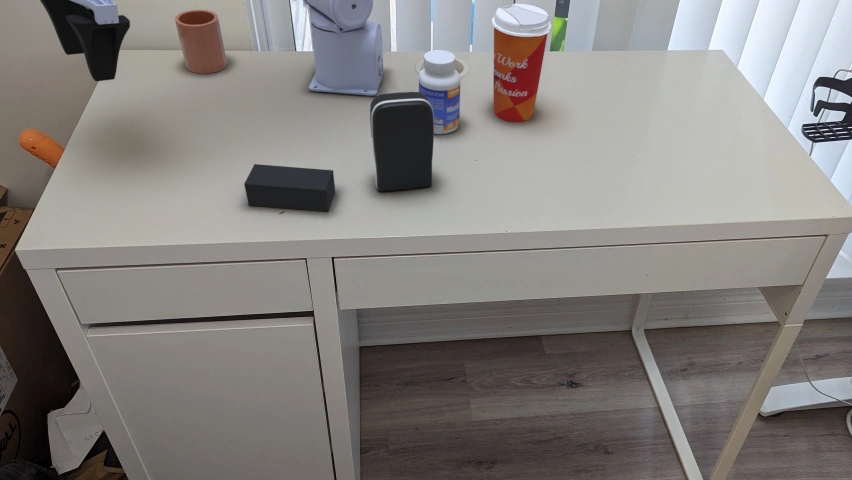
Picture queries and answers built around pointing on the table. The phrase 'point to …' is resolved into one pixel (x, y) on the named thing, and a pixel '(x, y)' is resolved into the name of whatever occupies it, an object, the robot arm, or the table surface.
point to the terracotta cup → (201, 41)
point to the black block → (290, 187)
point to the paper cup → (518, 59)
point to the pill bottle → (441, 89)
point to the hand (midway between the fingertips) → (89, 65)
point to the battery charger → (402, 140)
